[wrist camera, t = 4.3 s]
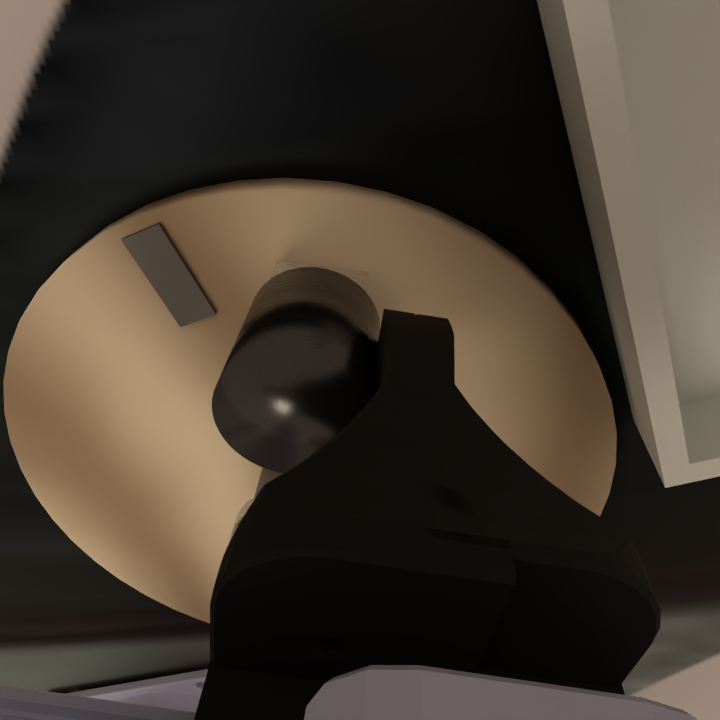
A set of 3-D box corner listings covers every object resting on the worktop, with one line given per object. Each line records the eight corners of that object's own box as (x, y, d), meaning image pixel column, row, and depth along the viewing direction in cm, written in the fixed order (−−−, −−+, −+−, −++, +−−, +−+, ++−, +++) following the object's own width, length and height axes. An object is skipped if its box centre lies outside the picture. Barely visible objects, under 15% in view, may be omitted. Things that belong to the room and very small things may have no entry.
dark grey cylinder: (338, 633, 21) (325, 756, 18) (247, 621, 21) (218, 743, 18) (399, 258, 13) (395, 364, 10) (249, 239, 13) (196, 337, 10)
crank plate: (213, 654, 25) (196, 717, 23) (-115, 319, 16) (-189, 371, 14) (653, 576, 20) (679, 646, 18) (516, 42, 11) (539, 63, 9)
